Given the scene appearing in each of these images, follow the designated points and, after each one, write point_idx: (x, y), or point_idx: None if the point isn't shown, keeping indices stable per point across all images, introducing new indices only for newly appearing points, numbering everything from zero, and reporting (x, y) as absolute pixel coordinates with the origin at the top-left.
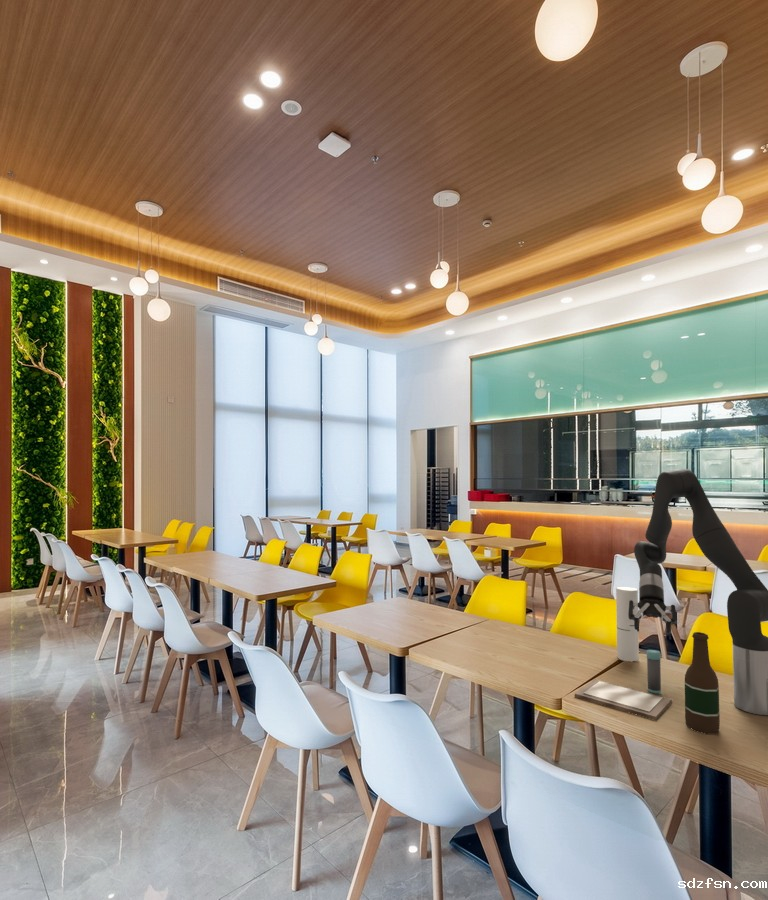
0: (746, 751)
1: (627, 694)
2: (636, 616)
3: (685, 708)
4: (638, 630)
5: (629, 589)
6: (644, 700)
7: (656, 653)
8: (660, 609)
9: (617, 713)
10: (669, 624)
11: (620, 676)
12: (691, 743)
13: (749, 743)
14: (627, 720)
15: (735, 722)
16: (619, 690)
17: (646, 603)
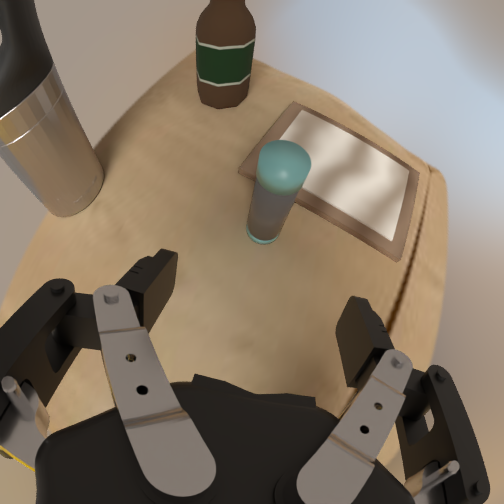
0: (194, 62)
1: (336, 170)
2: (398, 353)
3: (249, 75)
4: (345, 314)
5: None
6: (304, 146)
7: (279, 141)
8: (134, 392)
9: (349, 123)
10: (125, 285)
11: (334, 333)
12: (258, 66)
13: (176, 75)
14: (334, 106)
15: (151, 120)
16: (351, 189)
17: (346, 499)
